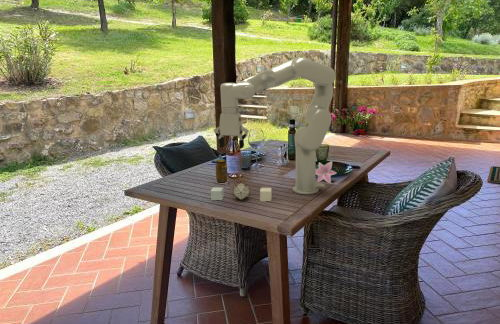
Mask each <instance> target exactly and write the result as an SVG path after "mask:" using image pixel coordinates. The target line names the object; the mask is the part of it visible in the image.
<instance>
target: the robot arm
mask: <svg viewBox="0 0 500 324" xmlns="http://www.w3.org/2000/svg"><path fill="white" fill-rule="evenodd" d="M336 77H337V75H336V72H335V70H334V69H333V68H332V67H330V66H328V65H325V64H323V63H320V62H319V61H315V60H313V59H310V58H307V57H305V56H304V57H302V56H299V57H294V58H292V59H289V60H287V61H285V62H283V63H279V64H278V65H276V66H274V67H272V68H269V69H266V70H264V71H261V72H260V73H257V74H255V75H252V76H250V77H247V78H246V79H243V80H241V81H240V82H238V83H236V82H224V83H221V84H220V103H221V104H220V105H221V113H220V115H219V126H217V127H216V128H213V132H214V133H215V136H216V137H217V138H218V140H219V148H224V147H225V146H226V145H225V138H224V137H225V136H227V137H229V136H232V137H238V139H239V140H238V145H239V146H238V147H239V148H238V149H243V148H244V146H245V139H246V137H247V136H248V134H249V132H250V130H249V129H247V128H246V127H244V126H243V125H244V124H243V119H242V115H241V111H242V108H240V107H239V100H240V99H241V100H249V99H252V98H253V97H254V96H255V94H256V93H257V92H260V91H262V90H265V89H270V88H272V89H273V88H276V87H279V86H282V85H284V84H286V83H288V82H291V81H293V80H295V79H298V78H303V79H305V80H307V81H309V82H312V83H313V85H314V93H313V95H312V96H313V97H312V99H311V101H310V104H309V106H308V107H307V110H306V112H305V115H304V117H305V118H304V119H305V122H307V126H306V125H305V126H300V127H299V128H298V129H297V130H296V131H295V133H294V146H295V147H294V148H295V186H293V187H292V191H293V192H294V193H295V194H299V195H314V194H316V193H318V192H319V189H320V188H321V189H323V188H326V185H325V184H326V183H323V182H317V180H316V174H315V169H317V168H316V166H317V164H316V159H317V158H316V155H317V154H316V151H317V150H318V149H319V148H320V147H321V145H322V143H323V141H324V139H325V137H326V135H327V133H328V131H329V130H330V126H331V124H332V115H331V112H330V111H329V107H330V106H331V102H332V99H333V95H334V87H333V84H334V83H335V80H336ZM238 99H239V100H238Z"/></svg>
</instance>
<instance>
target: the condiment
mask: <svg viewBox="0 0 500 324" xmlns="http://www.w3.org/2000/svg"><path fill="white" fill-rule="evenodd" d="M215 164H216V165H215V180H216V181H217V182H218V183H225V182H227V180H228V181H229V179H228V165H227V160H225V159H217V160H216V161H215ZM225 184H226V183H225Z"/></svg>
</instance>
